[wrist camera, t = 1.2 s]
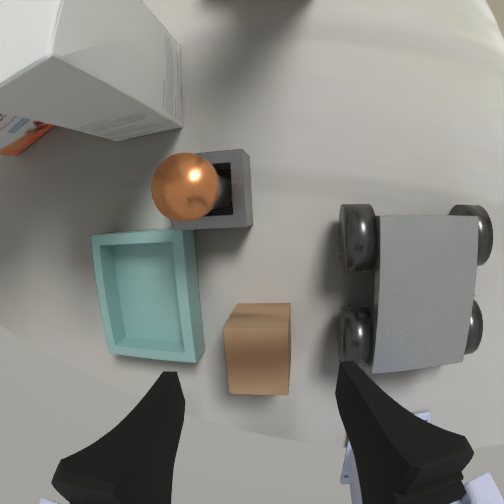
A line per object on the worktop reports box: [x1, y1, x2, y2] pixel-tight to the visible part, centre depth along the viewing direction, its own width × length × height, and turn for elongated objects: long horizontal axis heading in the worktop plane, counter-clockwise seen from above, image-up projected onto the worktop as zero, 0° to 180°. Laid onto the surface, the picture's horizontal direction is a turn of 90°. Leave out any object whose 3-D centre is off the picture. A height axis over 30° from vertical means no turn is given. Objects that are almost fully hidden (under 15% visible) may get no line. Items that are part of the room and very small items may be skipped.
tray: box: [91, 228, 205, 363], centre depth 23 cm, size 10×8×2 cm
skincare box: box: [0, 0, 183, 141], centre depth 15 cm, size 8×7×16 cm
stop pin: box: [152, 153, 232, 222], centre depth 19 cm, size 4×4×7 cm
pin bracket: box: [172, 149, 253, 231], centre depth 21 cm, size 5×5×3 cm
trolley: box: [338, 204, 493, 374], centre depth 19 cm, size 11×11×5 cm
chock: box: [223, 303, 291, 395], centre depth 21 cm, size 5×4×5 cm
